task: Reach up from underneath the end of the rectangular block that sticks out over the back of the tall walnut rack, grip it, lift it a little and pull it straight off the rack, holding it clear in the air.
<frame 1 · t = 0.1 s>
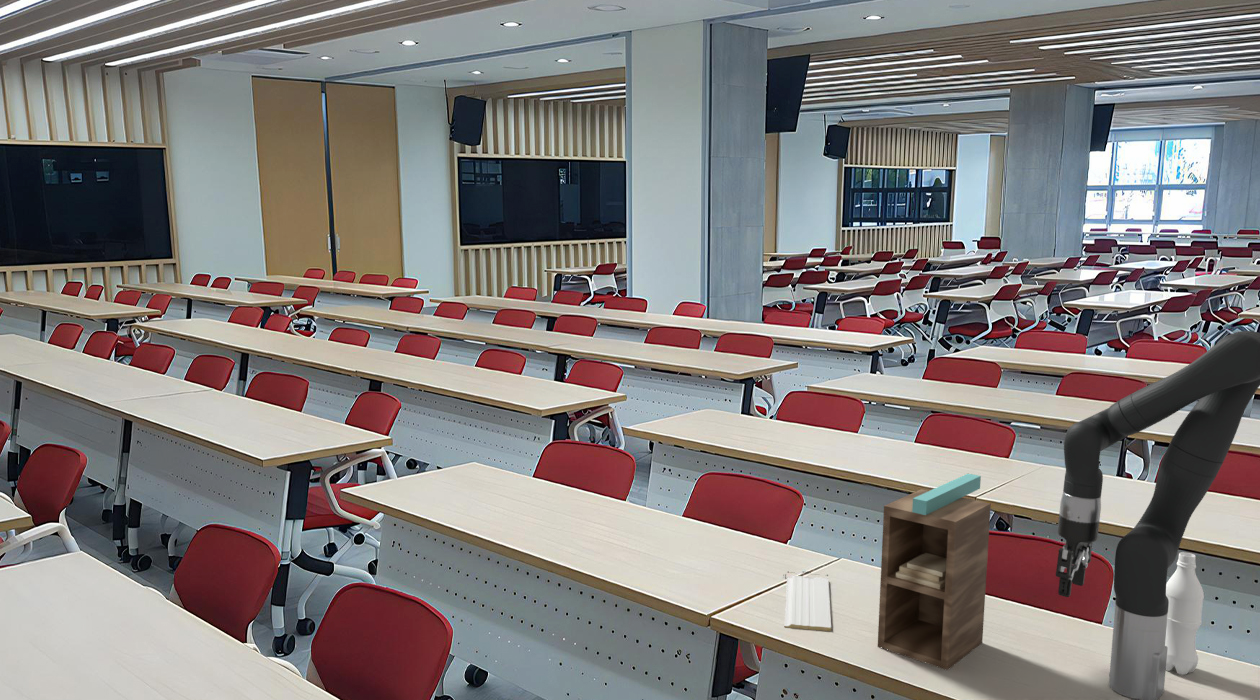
hand: (1071, 590, 196), 17 cm above the table, tool pointing down, fingers open, 8 cm apart
baseboard molding: (804, 605, 232), on the table
rack: (930, 644, 209), on the table
rectangular block: (947, 499, 209), point 32 cm above the table, touching rack
water bottle: (1176, 670, 199), on the table
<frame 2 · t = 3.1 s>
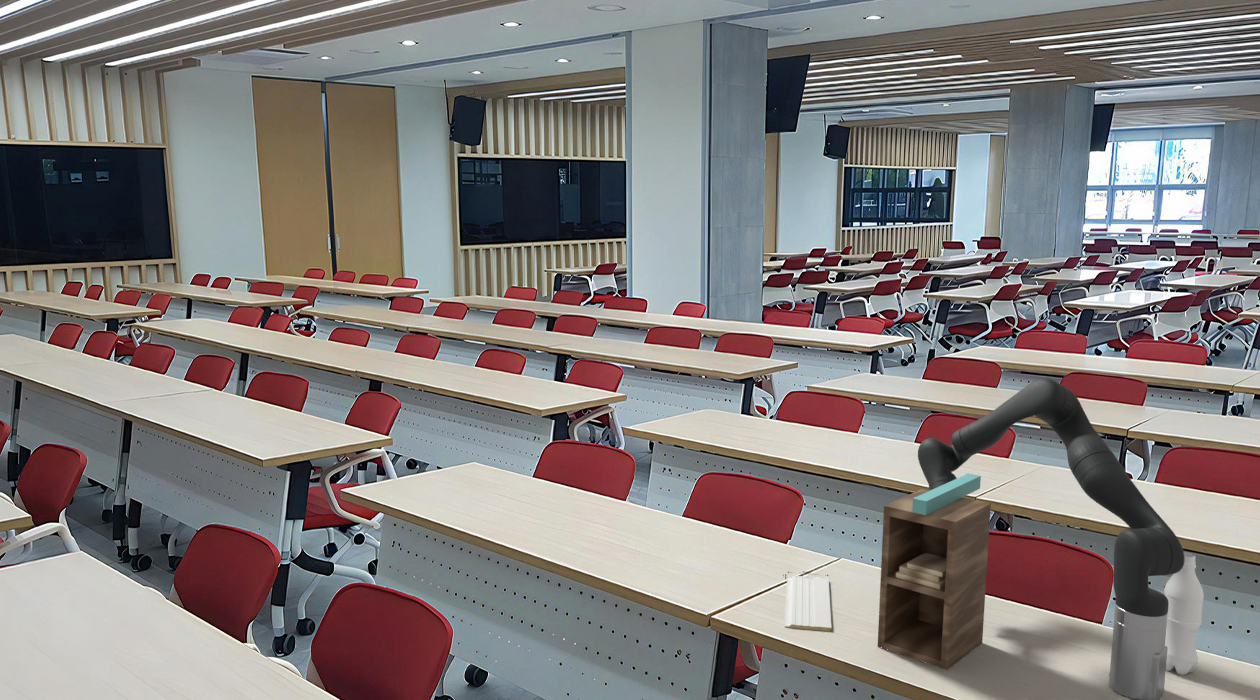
hand: (959, 576, 217), 12 cm above the table, tool tilted 45°, fingers open, 8 cm apart
nothing on the table moved.
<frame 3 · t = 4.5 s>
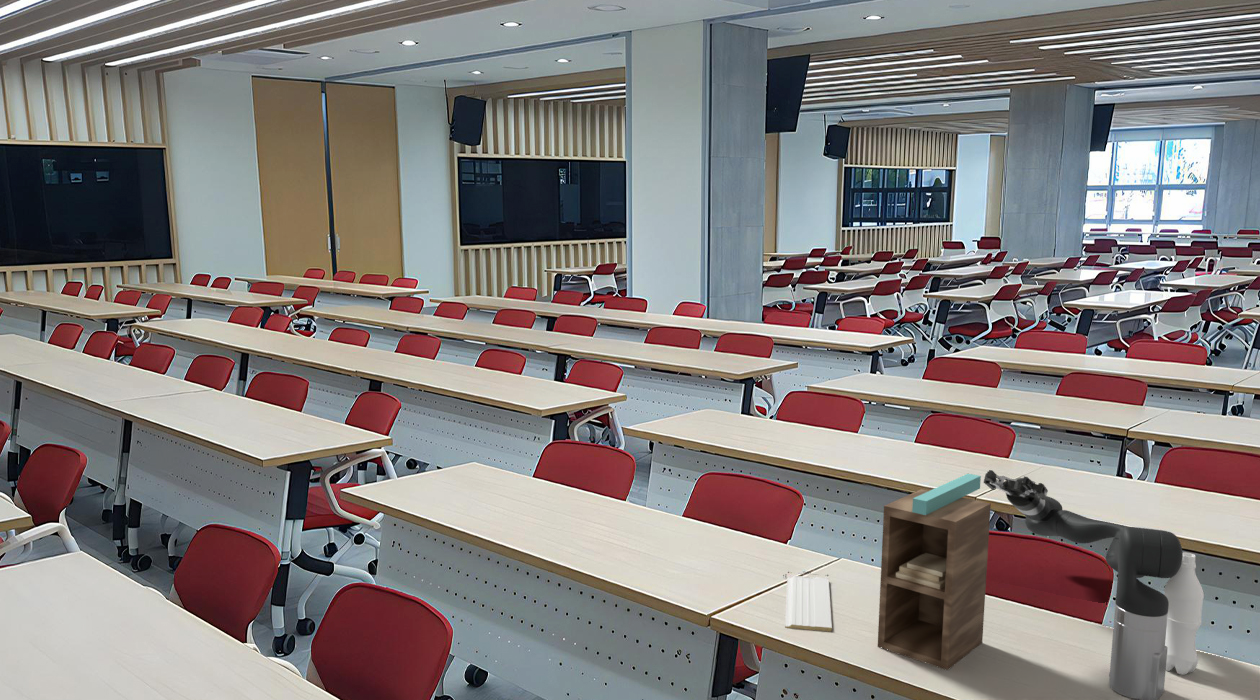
hand: (1006, 477, 231), 31 cm above the table, tool pointing upward, fingers open, 8 cm apart
nothing on the table moved.
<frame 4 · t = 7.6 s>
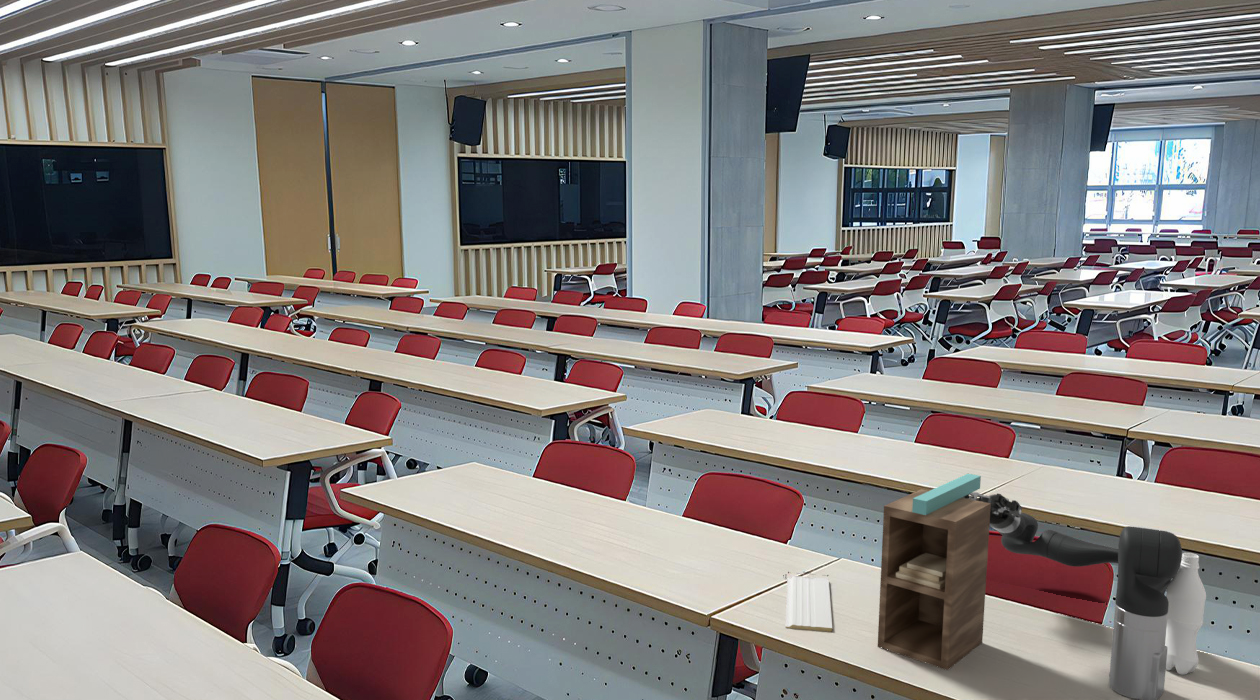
hand: (979, 493, 222), 30 cm above the table, tool pointing upward, fingers open, 8 cm apart
water bottle: (1176, 669, 199), on the table, touching arm
everything else where it was.
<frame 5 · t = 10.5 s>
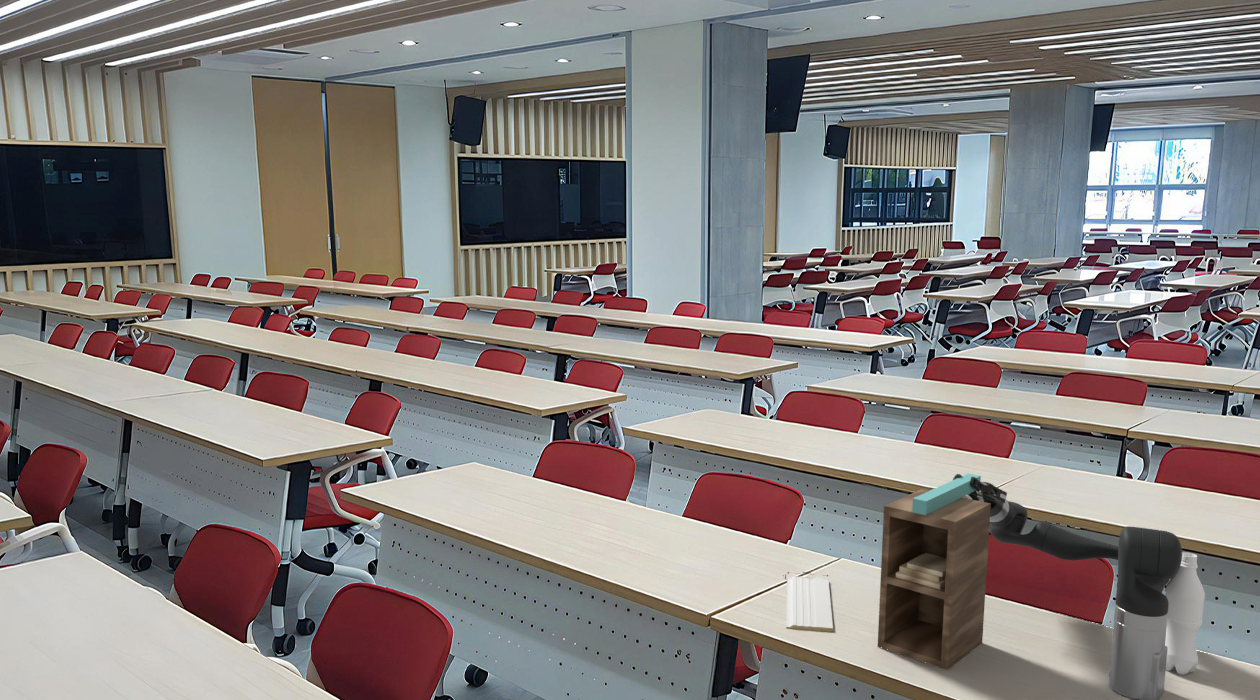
hand: (964, 479, 215), 35 cm above the table, tool pointing upward, fingers closed on rectangular block, 3 cm apart
rectangular block: (947, 499, 209), point 32 cm above the table, touching gripper, rack
everything else where it was.
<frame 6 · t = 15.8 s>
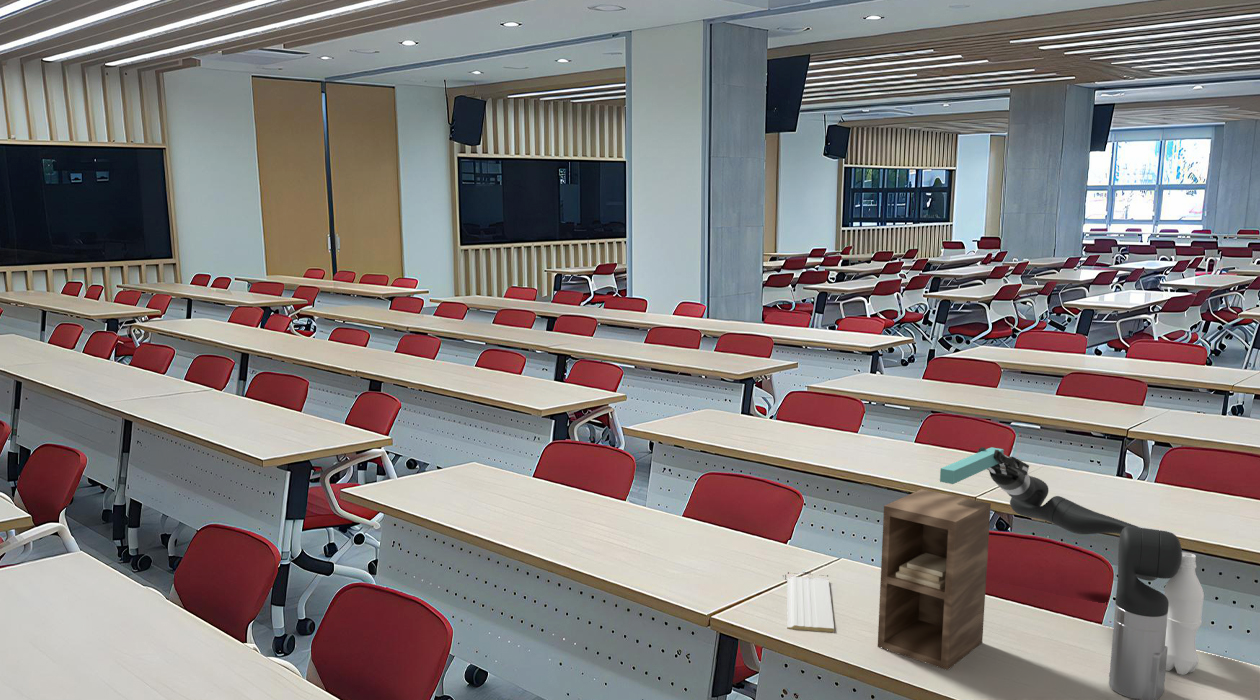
hand: (988, 452, 224), 39 cm above the table, tool pointing upward, fingers closed on rectangular block, 3 cm apart
rectangular block: (972, 471, 218), point 36 cm above the table, touching gripper
water bottle: (1176, 670, 199), on the table
everything else where it was.
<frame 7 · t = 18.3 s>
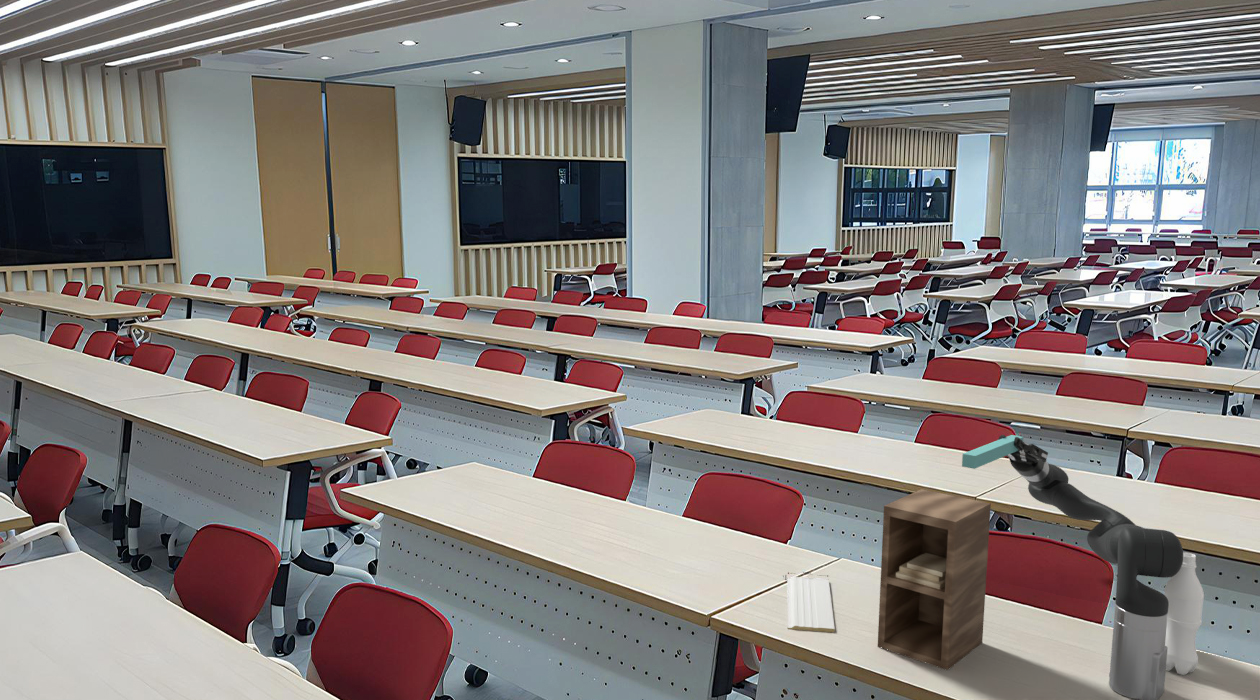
hand: (1008, 439, 232), 40 cm above the table, tool pointing upward, fingers closed on rectangular block, 3 cm apart
rectangular block: (993, 457, 227), point 37 cm above the table, touching gripper
everything else where it was.
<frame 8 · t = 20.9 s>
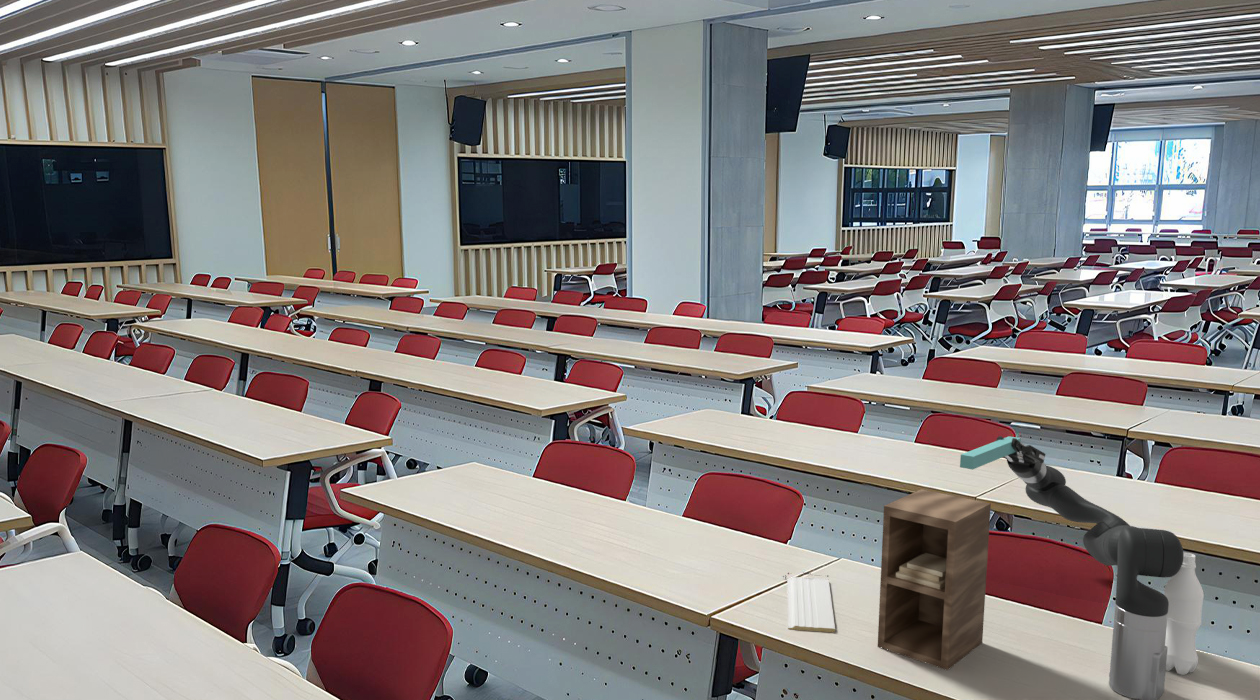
hand: (1006, 440, 233), 40 cm above the table, tool pointing upward, fingers closed on rectangular block, 3 cm apart
rectangular block: (991, 458, 227), point 37 cm above the table, touching gripper
everything else where it was.
at the end: the gripper is holding rectangular block; rectangular block touching gripper; rectangular block inside the target area (5.4 cm from its centre), point 36.8 cm above the table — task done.
